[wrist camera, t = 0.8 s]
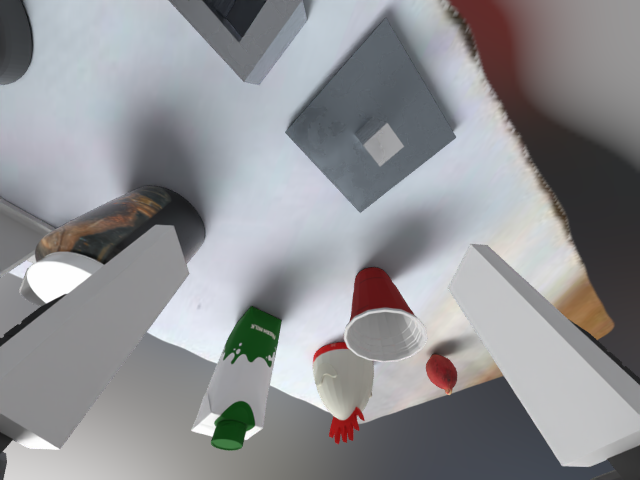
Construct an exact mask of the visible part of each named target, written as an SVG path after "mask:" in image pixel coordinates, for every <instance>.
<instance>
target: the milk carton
mask: <svg viewBox="0 0 640 480" xmlns="http://www.w3.org/2000/svg"><path fill="white" fill-rule="evenodd" d="M281 321H282V320H280V319H278V318H276V317H274V316H272V315H270V314H267V313H265V312H263V311H261V310H259V309H257V308H255V307H253V306H251V307H250V308H249V309H248V311H247V312H246V313H245V314H244V315H243V317H242V318H241V319H240V320H239V321H238V322H237V324H236V325H235V327H234V329H233V331H232V332H231V334H230V336H229V338H228V340H227V342H226V344H225V347H224V349H223V351H222V354H221V356H220V359H219V361H218V364H217V366H216V369H215V371H214V374H213V376H212V378H211V381H210V383H209V386H208V389H207V391H206V394H205V395H204V397H203V400H202V404H201V407H200V410H199V412H198V415H197V417H196V420H195V423H194V425H193V427H192V431H194V432H198V433H201V434H205V435H209V436H213V437H212V440H211V445H212V446H214V447H216V448H219V449H223V450H238V449H240V448H242V446H243V442H244V440H247V439H248V438H250V437H251V436H252V435H254V434H255V433H257V432H258V431H260V430H261V429H262V428H263V426H264V417H265V409H266V401H267V396H268V390H269V386H270V381H271V375H272V370H273V365H274V360H275V355H276V350H277V345H278V339H279V333H280V327H281Z"/></svg>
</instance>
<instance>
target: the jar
mask: <svg viewBox="0 0 640 480" xmlns="http://www.w3.org/2000/svg"><path fill="white" fill-rule="evenodd" d="M155 225H171V226H174V228H175V231H176V234H177V237H178V240H179V243H180V246H181V249H182V253H183V256H184V259H185V262H186V264H187V263H188V262H189V261H190V260H191V258H192V257H193V256H194V255H195V253H196V252H197V251H198V250H199V248H200V247H201V246H202V244H203V242H204V238H205V229H204V225H203V222H202V219H201V217H200V216H199V214H198V212H197V211H196V210H195V208H194V207H193V206H192V205H191V204H190V203H189V202H188V201H187V200H186V199H184V198H183V197H182V196H180V195H179V194H177V193H175V192H173V191H171V190H169V189H166V188H163V187H158V186H144V187H140V188H137V189H135V190H133V191H131V192H129V193H126V194H124V195H122V196H120V197H118V198H116V199H114V200H112V201H110V202H108V203H106V204H104V205H101V206H99V207H97V208H95V209H93V210H91V211H89V212H87V213H85V214H83V215H81V216H79V217H77V218H75V219H73V220H71V221H70V222H68V223H66V224H64V225H62V226H60V227H58V228H57V229H55V230H53V231H51V232H50V233H49V234H47V235H46V236H44V237H43V238H42V239H41V240H40V241H39V243H38V244H37V246H36V249H35V258H36V263H34V264H32V265H31V266H30V267H29V269H28V270H27V281H28V283H29V285H30V287H31V288H32V290H33V291H34V292H35V293H36V295H37V296H38V297H39V298H40V299H42V300H43V301H44V302H45V303H48V302H50V301H52V300H54V299H56V298H58V297H60V296H62V295H64V294H68V293H69V292H71V291H72V290H73V289H74V288H76V287H77V286H78V285H80V284H81V283H82V282H83V281H85V280H86V279H87V278H88V277H90V276H91V275H92V274H94V273H95V272H96V271H97V270H99V269H100V268H101V267H102V266H104V265H105V264H106V263H108V262H109V261H110V260H111V259H113V258H114V257H115V256H116V255H118V254H119V253H120V252H122V251H123V250H124V249H125V248H127V247H128V246H129V245H130V244H132V243H133V242H134V241H135V240H137V239H138V238H139V237H141V236H142V235H143V234H144V233H146V232H147V231H148V230H149V229H151V228H152V227H153V226H155Z"/></svg>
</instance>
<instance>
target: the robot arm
mask: <svg viewBox="0 0 640 480" xmlns="http://www.w3.org/2000/svg"><path fill="white" fill-rule="evenodd" d="M31 54H32V39H31V32H30V27H29V23H28V20H27V16H26V13H25V10H24V8H23V5H22V2H21V0H0V85H5V84H9V83H12V82H15V81H16V80H18V79H19V78H21V77H22V76H23V75H24V73H25V72H26V70H27V68H28V66H29V64H30V60H31ZM188 275H189V271H188V268H187V265H186V262H185V259H184V256H183V253H182V249H181V246H180V243H179V240H178V237H177V234H176V231H175V228H174V226H171V225H155V226H153V227H152V228H151V229H149V230H148V231H147V232H146V233H144V234H143V235H142V236H141V237H139V238H138V239H137V240H135V241H134V242H133V243H132V244H130V245H129V246H128V247H127V248H125V249H124V250H123V251H122V252H120V253H119V254H118V255H116V256H115V257H114V258H113V259H111V260H110V261H109V262H108V263H106V264H105V265H104V266H102V267H101V268H100V269H99V270H97V271H96V272H95V273H94V274H92V275H91V276H90V277H88V278H87V279H86V280H85V281H83V282H82V283H81V284H80V285H78V286H77V287H76V288H74V289H73V290H72V291H71V292H69V293H68V294H64V295H62V296H60V297H58V298H56V299H54V300H52V301H50V302H48V303H46V304H45V305H43V306H41V307H40V308H38V309H37V310H36V311H34V312H33V313H32V314H30V315H29V316H28V317H26V318H25V319H24V320H23V321H22V323H21V324H20V325H16V326H15V327H14V328H12V329H11V330H9V331H8V332H7V333H5V334H4V337H3V338H0V480H3V478H4V474H5V469H6V464H7V460H6V453H4V452H2V451H3V450H4V449H5V448H6V447H7V446H8V445H9V444H10V442H11V441H12V440H14V441H16V442H18V443H20V444H21V445H24V446H25V447H27V448H32V449H61V447H62V446H63V445H64V443H65V442H66V441H67V439H68V438H69V437H70V435H71V434H72V432H73V431H74V430H75V428H76V427H77V426H78V424H79V423H80V422H81V420H82V419H83V418H84V416H85V415H86V413H87V412H88V411H89V409H90V408H91V407H92V405H93V404H94V403H95V401H96V400H97V399H98V397H99V395H101V393H102V392H103V390H104V389H105V388H106V386H107V385H108V384H109V382H110V381H111V380H112V378H113V377H114V375H115V374H116V373H117V371H118V370H119V369H120V367H121V366H122V365H123V363H124V362H125V360H126V359H127V358H128V356H129V355H130V354H131V352H132V351H133V350H134V348H135V347H136V346H137V344H138V343H139V342H140V340H141V339H142V337H143V336H144V335H145V333H146V332H147V331H148V329H149V328H150V327H151V325H152V324H153V323H154V321H155V320H156V319H157V317H158V316H159V314H160V313H161V312H162V310H163V309H164V308H165V306H166V305H167V304H168V302H169V301H170V300H171V298H172V297H173V295H174V294H175V293H176V291H177V290H178V289H179V287H180V286H181V285H182V283H183V282H184V281H185V279H186V278H187V276H188ZM448 290H449V291H450V293H451V294H452V296H453V297H454V299H455V300H456V302H457V304H458V305H459V307H460V308H461V310H462V311H463V313H464V314H465V316H466V318H467V319H468V321H469V322H470V324H471V325H472V327H473V328H474V330H475V331H476V333H477V335H478V336H479V338H480V339H481V341H482V342H483V344H484V345H485V347H486V349H487V350H488V352H489V353H490V355H491V356H492V358H493V359H494V361H495V363H496V364H497V366H498V367H499V369H500V370H501V372H502V373H503V375H504V376H505V378H506V379H507V381H508V383H509V384H510V386H511V387H512V389H513V390H514V392H515V394H516V395H517V397H518V398H519V400H520V401H521V403H522V404H523V406H524V407H525V409H526V411H527V412H528V414H529V415H530V417H531V418H532V420H533V422H534V423H535V425H536V426H537V428H538V429H539V431H540V432H541V434H542V435H543V437H544V438H545V440H546V442H547V443H548V445H549V446H550V448H551V449H552V451H553V452H554V454H555V456H556V457H557V459H558V460H559V462H560V463H561V465H562V466H580V467H590V466H592V465H595V464H597V463H600V462H602V461H605V460H608V461H609V462H610V463H611V464H612V466H613V467H614V468H615V470H614V471H611V472H608V473H605V474H603V475H600V476H597V477H595V478H593V479H591V480H640V378H639V377H638V376H636V375H635V374H634V373H633V372H632V371H631V370H630V369H628V368H627V367H626V366H623V365H622V362H621V361H620V360H619V359H617V358H616V357H615V356H614V355H613V354H612V353H611V352H607V349H606V348H605V347H604V346H603V345H602V344H601V343H600V342H599V341H597V340H596V339H595V338H594V337H593V336H592V335H591V334H590V333H588V332H587V331H585V330H584V329H582V328H581V327H579V326H578V325H576V324H575V323H573V322H572V321H570V320H569V319H567V318H566V317H565V316H564V315H563V314H562V313H561V312H559V311H558V310H557V309H556V308H555V307H554V306H553V305H552V304H551V303H550V302H549V301H548V300H546V299H545V298H544V297H543V296H542V295H541V294H540V293H539V292H538V291H537V290H536V289H534V288H533V287H532V286H531V285H530V284H529V283H528V282H527V281H526V280H525V279H524V278H522V277H521V276H520V275H519V274H518V273H517V272H516V271H515V270H514V269H513V268H512V267H510V266H509V265H508V264H507V263H506V262H505V261H504V260H503V259H502V258H501V257H500V256H499V255H497V254H496V253H495V252H494V251H493V250H492V249H491V248H490V247H489V246H488V245H478V244H470V246H469V248H468V250H467V252H466V254H465V256H464V258H463V260H462V261H461V263H460V265H459V267H458V269H457V271H456V273H455V275H454V277H453V279H452V281H451V283H450V285H449V287H448Z"/></svg>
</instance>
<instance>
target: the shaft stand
mask: <svg viewBox="0 0 640 480" xmlns="http://www.w3.org/2000/svg"><path fill="white" fill-rule="evenodd" d="M285 133H286V134H287V135H288V136H289V137H290V138H291V139H292V140H293V141H294V143H295V144H296V145H297V146H298V147H299V148H300V149H301V150H302V151H303V152H304V153H305V154H306V155H307V156H308V157H309V159H310V160H311V161H312V162H313V163H314V164H315V165H316V166H317V167H318V168H319V169H320V170H321V171H322V172H323V174H324V175H325V176H326V177H327V178H328V179H329V180H330V181H331V182H332V183H333V184H334V185H335V186H336V187H337V189H338V190H339V191H340V192H341V193H342V194H343V195H344V196H345V197H346V198H347V199H348V200H349V201H350V202H351V203H352V205H353V206H354V207H355V208H356V209H357V210H358V211H359V212H360V213H361V212H362V211H363V210H364V209H366V208H367V207H368V206H370V205H371V204H372V203H373V202H375V201H376V200H377V199H378V198H380V197H381V196H382V195H384V194H385V193H386V192H387V191H389V190H390V189H391V188H393V187H394V186H395V185H396V184H398V183H399V182H400V181H401V180H403V179H404V178H405V177H407V176H408V175H409V174H410V173H412V172H413V171H414V170H415V169H417V168H418V167H419V166H421V165H422V164H423V163H424V162H426V161H427V160H428V159H430V158H431V157H432V156H433V155H435V154H436V153H437V152H438V151H440V150H441V149H442V148H444V147H445V146H446V145H447V144H449V143H450V142H451V141H452V140H454V139H455V138H456V136H455V134H454V133H453V131H452V129H451V128H450V126H449V124H448V122H447V121H446V119H445V117H444V116H443V114H442V112H441V111H440V109H439V107H438V105H437V104H436V102H435V100H434V99H433V97H432V95H431V94H430V92H429V90H428V88H427V87H426V85H425V83H424V82H423V80H422V78H421V77H420V75H419V73H418V71H417V70H416V68H415V66H414V65H413V63H412V61H411V59H410V58H409V56H408V54H407V53H406V51H405V49H404V48H403V46H402V44H401V42H400V41H399V39H398V37H397V36H396V34H395V32H394V31H393V29H392V27H391V25H390V24H389V22H388V20H387V19H386V18H385V19H384V20H383V21H382V23H381V24H380V25H379V26H378V27H377V28H376V29H375V31H374V32H373V33H372V34H371V35H370V36H369V37H368V39H367V40H366V41H365V42H364V43H363V44H362V45H361V46H360V48H359V49H358V50H357V51H356V52H355V53H354V54H353V56H352V57H351V58H350V59H349V60H348V61H347V62H346V63H345V65H344V66H343V67H342V68H341V69H340V70H339V71H338V73H337V74H336V75H335V76H334V77H333V78H332V79H331V80H330V82H329V83H328V84H327V85H326V86H325V87H324V88H323V90H322V91H321V92H320V93H319V94H318V95H317V96H316V98H315V99H314V100H313V101H312V102H311V103H310V104H309V105H308V107H307V108H306V109H305V110H304V111H303V112H302V113H301V115H300V116H299V117H298V118H297V119H296V120H295V121H294V122H293V124H292V125H291V126H290V127H289V128H288V129H287V130H286V132H285Z"/></svg>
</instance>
